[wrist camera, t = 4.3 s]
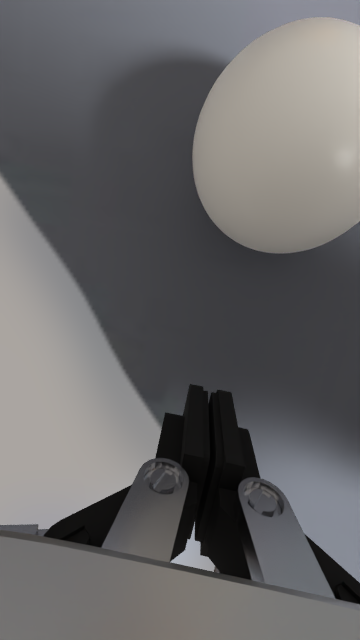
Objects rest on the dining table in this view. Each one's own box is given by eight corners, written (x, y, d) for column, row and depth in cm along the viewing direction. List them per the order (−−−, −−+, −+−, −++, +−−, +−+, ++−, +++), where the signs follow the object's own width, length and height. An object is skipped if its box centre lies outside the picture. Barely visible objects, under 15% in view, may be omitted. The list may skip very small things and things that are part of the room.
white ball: (369, 204, 11) (520, 167, 6) (236, 276, 12) (257, 301, 7) (308, 56, 10) (422, -159, 5) (170, 149, 11) (134, 62, 6)
